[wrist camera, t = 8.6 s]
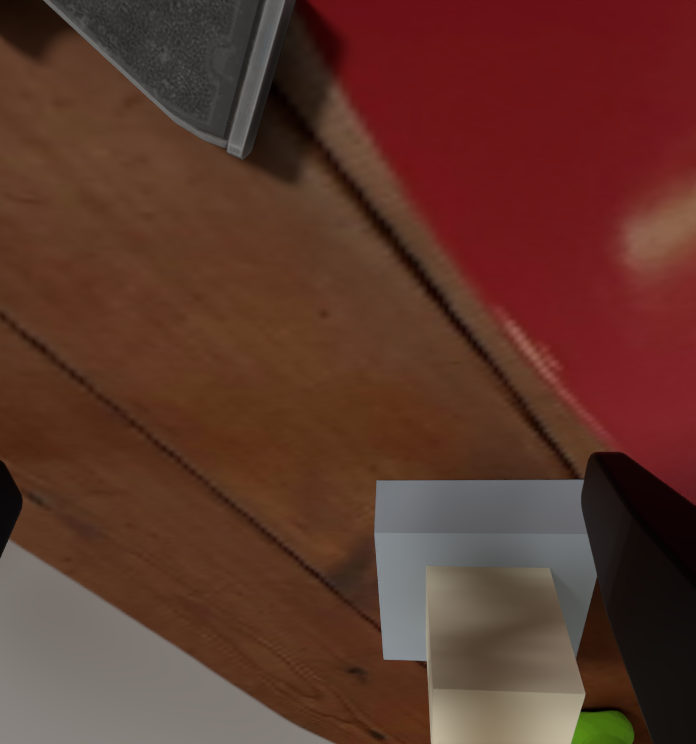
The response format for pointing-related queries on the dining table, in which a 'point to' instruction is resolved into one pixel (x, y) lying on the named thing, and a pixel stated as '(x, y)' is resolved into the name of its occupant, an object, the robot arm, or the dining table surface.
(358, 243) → the dining table surface
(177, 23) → the handgun
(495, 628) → the cube
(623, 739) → the toy
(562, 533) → the base
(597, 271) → the dining table surface
